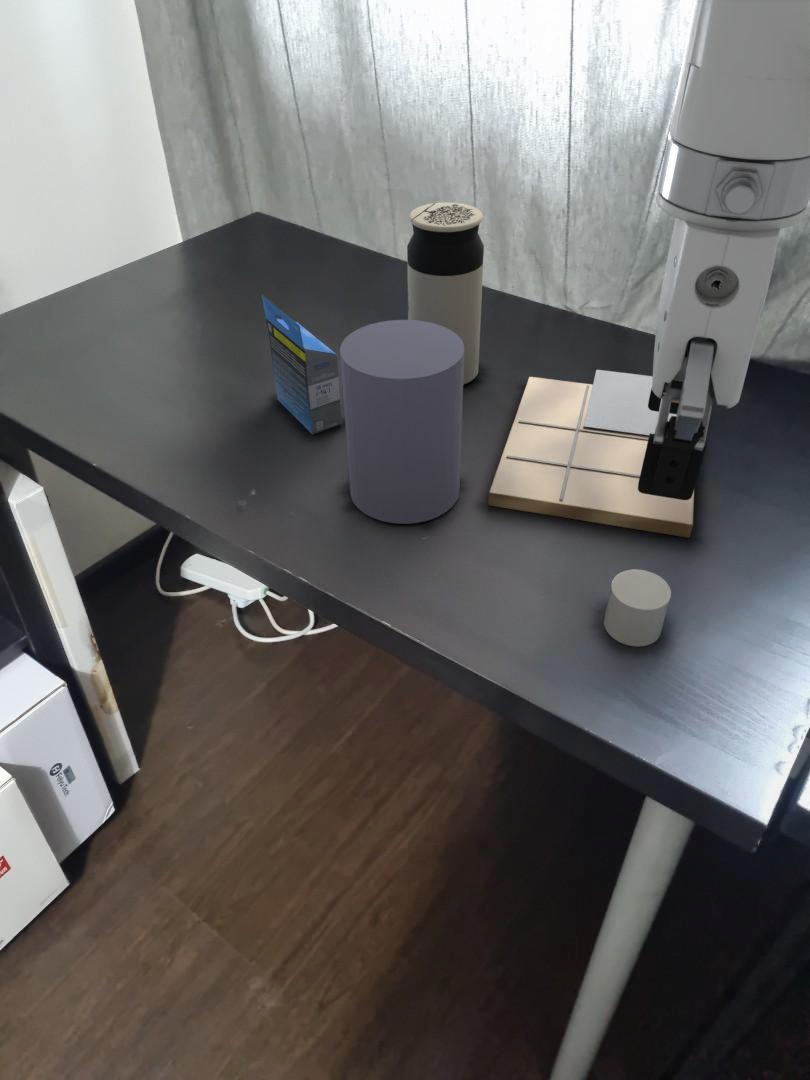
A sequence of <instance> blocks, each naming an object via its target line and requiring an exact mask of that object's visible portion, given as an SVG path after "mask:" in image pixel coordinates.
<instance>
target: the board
mask: <svg viewBox="0 0 810 1080" xmlns="http://www.w3.org/2000/svg"><path fill="white" fill-rule="evenodd" d="M652 378H653V375H645V374H635V373H627V372H620V371H611V370H604V369H603V370H602V369H596V370H595V374H594V378H593V383H592V384H591V383H585V382H584V383H583V382H575V381H567V380H559V379H552V378H544V377H537V376H536V377H535V376H529V377H528V379H527V382H526V386H525V387H524V391H523V394H522V396H521V399H520V402H519V405H518V407H517V410H516V414H515V416H514V418H513V419H514V420H513V422H512V426H511V427H510V431H509V434H508V437H507V438H506V439H507V440H506V442H505V445H504V448H503V451H502V454H501V457H500V461H499V463H498V464H497V465H498V466H497V468H496V471H495V474H494V477H493V480H492V483H491V486H490V489H489V491H488V500H487V505H488V506H491V507H496V508H503V509H508V510H509V509H510V510H515V511H521V512H529V513H535V514H539V515H540V514H541V515H545V516H546V515H547V516H551V517H552V516H553V517H558V518H565V519H571V520H575V521H576V520H577V521H583V522H589V523H594V524H595V523H596V524H601V525H606V526H607V525H608V526H614V527H621V528H626V529H631V530H638V531H639V530H640V531H646V532H651V533H657V534H664V535H669V536H676V537H681V538H682V537H683V538H690V537H691V535H692V530H693V527H694V509H695V508H694V507H695V490H694V491H693V495H692V497H691V498H690V499H689V500H680V499H673V498H667V497H661V496H655V495H649V494H643V493H641V492H639V491H638V482H639V478H640V474H641V469H642V465H643V460H644V456H645V452H646V447H647V443H648V439H649V434H650V433H651V434H655V429H656V424H657V419H658V413H659V412H657V411H652V410H650V409H649V408H648V401H649V397H650V392H651V388H652ZM676 415H677V414H671V413H669V416H668V421H669V419H670V418H671V416H676Z"/></svg>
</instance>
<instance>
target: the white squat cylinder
mask: <svg viewBox="0 0 810 1080" xmlns="http://www.w3.org/2000/svg"><path fill="white" fill-rule="evenodd" d="M671 598H672V590H671V588H670V585H669V584H668V582H667V581H666V580H665V579H664V578H663V577H661V576H660V575H658V574H656V573H655V572H651V571H649V570H644V569H628V570H624V571H622V572H619V573H618V574H616V575H615V576H614V578H613V579H612V580H611V583H610V589H609V594H608V598H607V602H606V608H605V613H604V618H603V625H604V629H605V630H606V632H607V634H608V635H609V636H610V637H611V638H613V639H614V640H615V641H616V642H617V643H621V644H623V645H626V646H630V647H646V646H650V645H652V644H653V643H655V642H656V641H658V640H659V638H660V637H661V634H662V631H663V628H664V624H665V620H666V617H667V613H668V610H669V606H670V602H671Z"/></svg>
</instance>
